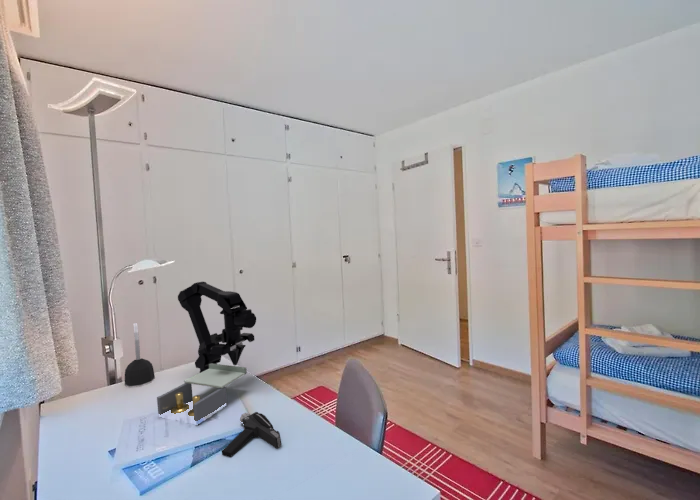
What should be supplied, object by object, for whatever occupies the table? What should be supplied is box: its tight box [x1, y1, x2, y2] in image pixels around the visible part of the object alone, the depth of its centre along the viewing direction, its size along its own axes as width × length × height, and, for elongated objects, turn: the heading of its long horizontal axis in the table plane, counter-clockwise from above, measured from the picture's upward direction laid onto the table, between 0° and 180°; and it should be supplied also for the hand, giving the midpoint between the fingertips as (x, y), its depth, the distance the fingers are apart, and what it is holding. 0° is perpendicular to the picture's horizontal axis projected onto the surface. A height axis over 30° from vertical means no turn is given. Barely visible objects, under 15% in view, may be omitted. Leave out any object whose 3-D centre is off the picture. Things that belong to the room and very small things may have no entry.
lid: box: [183, 363, 248, 389], centre depth 128 cm, size 13×17×2 cm
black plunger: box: [124, 322, 156, 389], centre depth 147 cm, size 11×11×25 cm
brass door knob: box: [171, 392, 189, 414], centre depth 118 cm, size 6×6×6 cm
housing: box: [156, 383, 228, 421], centre depth 118 cm, size 13×17×7 cm
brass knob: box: [188, 394, 201, 416], centre depth 115 cm, size 6×6×6 cm
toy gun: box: [221, 411, 282, 458], centre depth 101 cm, size 5×21×15 cm
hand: (235, 365), depth 137 cm, fingers closed
